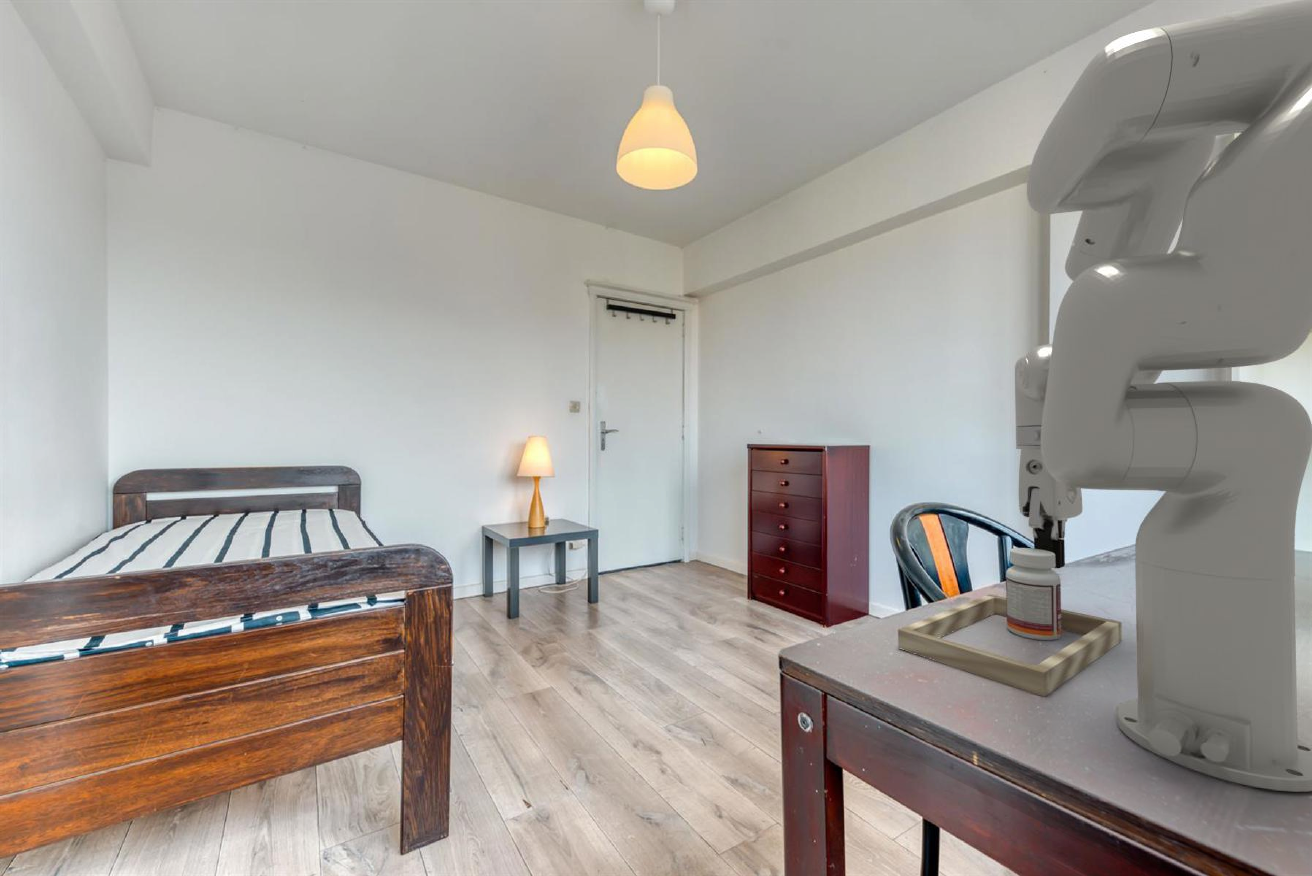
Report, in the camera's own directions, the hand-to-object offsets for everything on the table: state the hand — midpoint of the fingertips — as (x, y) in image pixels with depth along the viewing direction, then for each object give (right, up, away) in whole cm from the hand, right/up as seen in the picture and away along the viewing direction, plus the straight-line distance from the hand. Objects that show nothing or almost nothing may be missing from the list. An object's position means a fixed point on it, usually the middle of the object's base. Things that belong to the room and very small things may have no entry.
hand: (1049, 565), depth 77 cm
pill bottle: (-5, -9, -3) cm, 10 cm away
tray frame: (-10, -9, -7) cm, 15 cm away
